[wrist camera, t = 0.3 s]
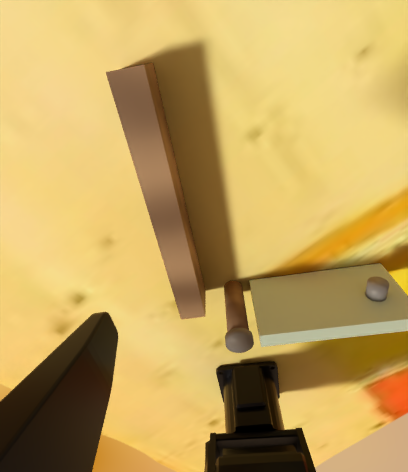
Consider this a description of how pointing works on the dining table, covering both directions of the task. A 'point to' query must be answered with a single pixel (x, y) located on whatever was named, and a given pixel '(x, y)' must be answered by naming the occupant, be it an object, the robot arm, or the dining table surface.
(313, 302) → the door
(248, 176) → the dining table surface
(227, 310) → the hinge post
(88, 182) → the dining table surface
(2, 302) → the dining table surface
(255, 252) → the dining table surface
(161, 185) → the bar
